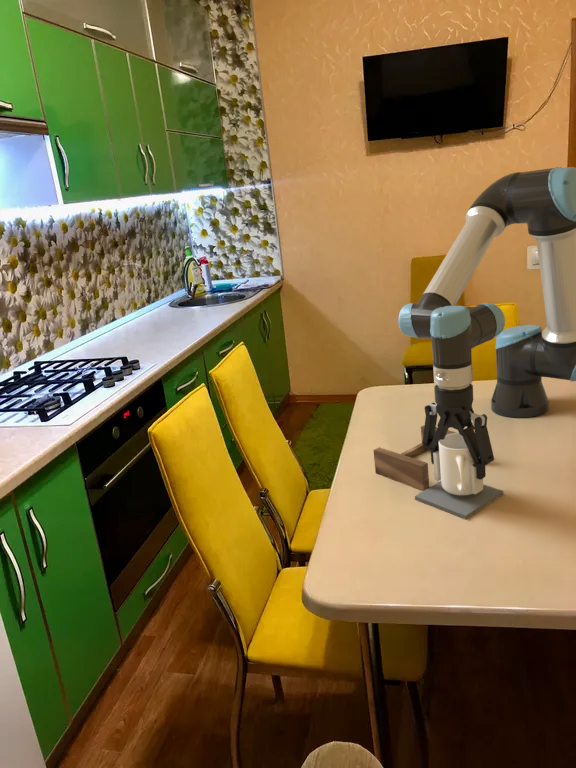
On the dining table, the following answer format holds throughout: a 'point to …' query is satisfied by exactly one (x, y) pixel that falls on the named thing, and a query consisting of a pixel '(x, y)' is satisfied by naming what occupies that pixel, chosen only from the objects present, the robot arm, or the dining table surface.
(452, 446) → the mug
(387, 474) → the frame
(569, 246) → the robot arm
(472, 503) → the coaster
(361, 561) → the dining table surface
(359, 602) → the dining table surface
